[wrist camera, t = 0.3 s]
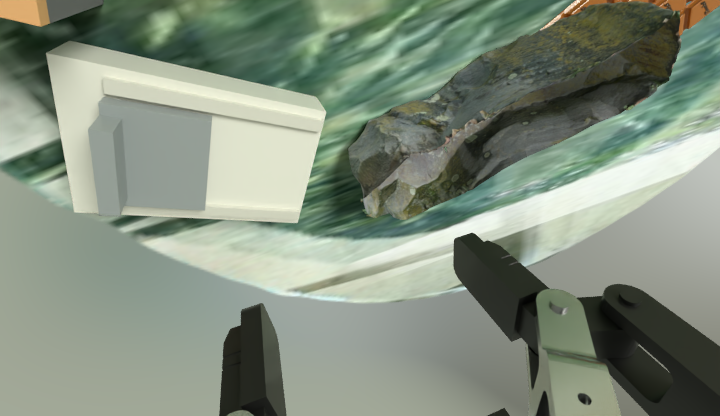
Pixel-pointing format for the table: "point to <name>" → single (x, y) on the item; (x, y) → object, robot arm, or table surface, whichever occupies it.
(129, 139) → the grey l-shaped block
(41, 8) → the plug
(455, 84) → the stone
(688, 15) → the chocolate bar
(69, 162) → the socket block
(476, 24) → the table surface
